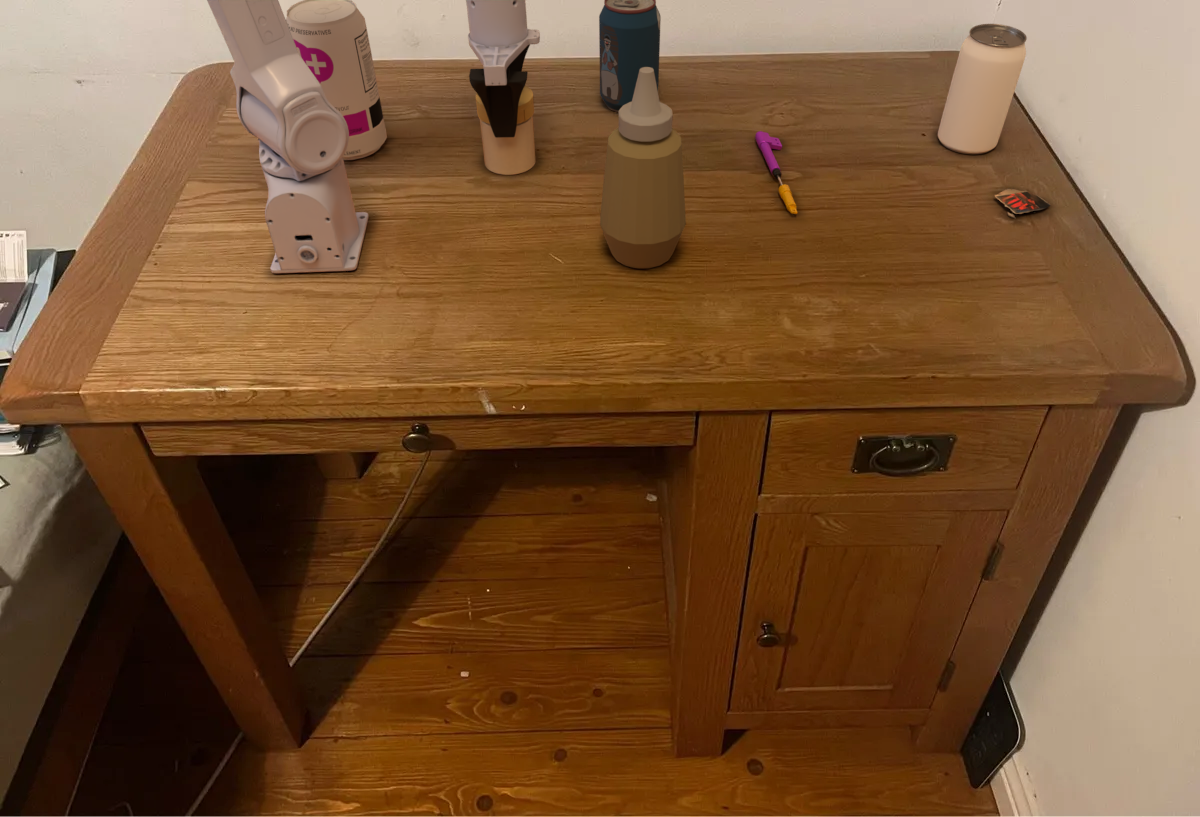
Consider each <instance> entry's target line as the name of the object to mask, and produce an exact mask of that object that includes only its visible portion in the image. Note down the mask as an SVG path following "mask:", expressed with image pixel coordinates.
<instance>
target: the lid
mask: <svg viewBox="0 0 1200 817" xmlns="http://www.w3.org/2000/svg"><path fill="white" fill-rule="evenodd" d="M534 100H535V99H534V92H533V90H532V89H531V88H530V87H529V86H527V85H525V86H524V88H523V90H522V93H521V96H520V100H519V105H518V116H517V124H519V123H522V122H524V121H526V120H528V119H529V118H531V117H532V115H533V116H534V114H535V104H534V103H535V102H534ZM475 105H476V114H477V117H478V118H479V120H480V119H481V120H482V121H484V122H486V123H488V124H490V122H489V119H488V116H487V113H486V110H485V107H484V105H483V103H482V101H481V99H480V97H479V96H478V94H477V93H476V94H475Z"/></svg>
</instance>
